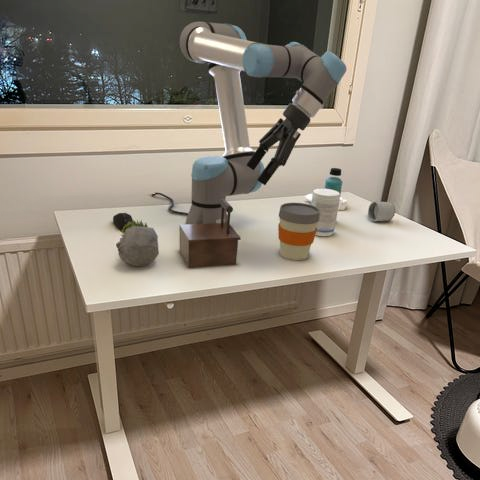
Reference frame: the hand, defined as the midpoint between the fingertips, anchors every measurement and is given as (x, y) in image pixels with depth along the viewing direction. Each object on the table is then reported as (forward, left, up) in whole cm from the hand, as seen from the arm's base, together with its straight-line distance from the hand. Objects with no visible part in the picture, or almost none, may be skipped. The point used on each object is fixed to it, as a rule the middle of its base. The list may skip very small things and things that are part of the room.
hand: (255, 174), depth 139 cm
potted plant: (-6, -35, -25) cm, 43 cm away
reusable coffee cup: (+6, +13, -25) cm, 28 cm away
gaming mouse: (-34, -30, -25) cm, 51 cm away
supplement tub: (-8, +34, -25) cm, 43 cm away
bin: (0, -14, -24) cm, 28 cm away
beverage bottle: (-17, +44, -25) cm, 53 cm away
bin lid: (0, -14, -16) cm, 22 cm away
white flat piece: (-36, +58, -25) cm, 73 cm away
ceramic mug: (-13, +66, -25) cm, 72 cm away
